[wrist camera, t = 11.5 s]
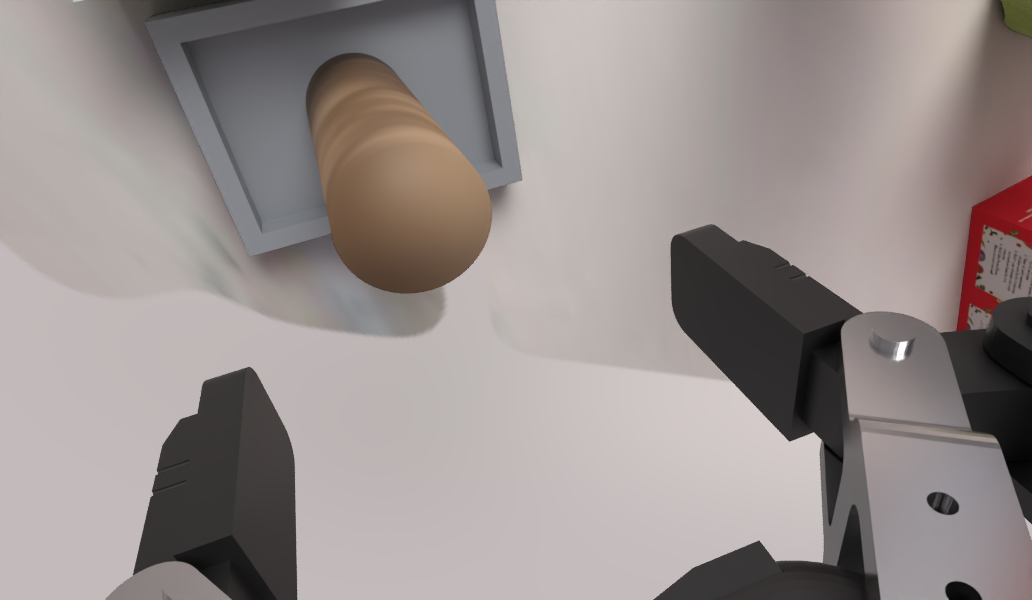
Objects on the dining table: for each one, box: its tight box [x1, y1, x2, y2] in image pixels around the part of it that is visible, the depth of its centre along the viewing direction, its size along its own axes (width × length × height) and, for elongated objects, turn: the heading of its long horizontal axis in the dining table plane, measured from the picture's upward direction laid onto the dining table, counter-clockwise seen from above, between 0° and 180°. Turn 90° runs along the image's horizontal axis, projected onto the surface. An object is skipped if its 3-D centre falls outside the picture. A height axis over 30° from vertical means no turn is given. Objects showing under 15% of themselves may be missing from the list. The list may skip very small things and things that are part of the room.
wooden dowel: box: [306, 53, 492, 293], centre depth 20 cm, size 4×4×12 cm
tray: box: [144, 0, 522, 257], centre depth 25 cm, size 12×9×2 cm
